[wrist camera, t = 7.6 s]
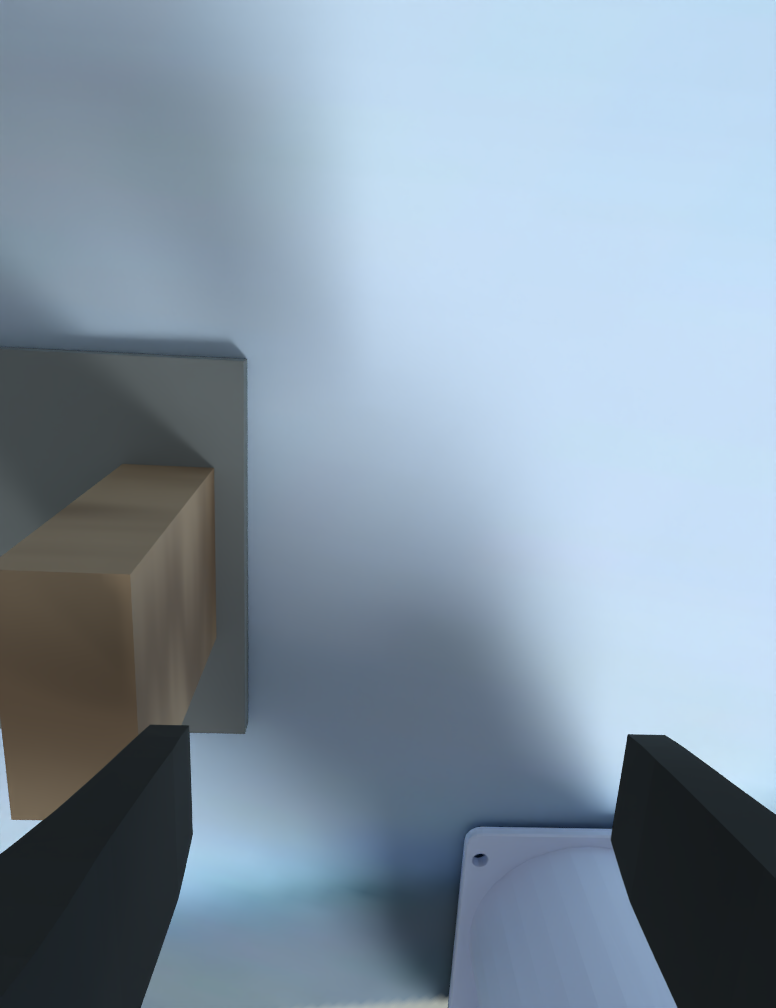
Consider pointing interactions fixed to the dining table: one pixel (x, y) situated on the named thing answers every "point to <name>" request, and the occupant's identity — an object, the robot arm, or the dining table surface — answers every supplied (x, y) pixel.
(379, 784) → the dining table surface
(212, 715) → the mat
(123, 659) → the slab
